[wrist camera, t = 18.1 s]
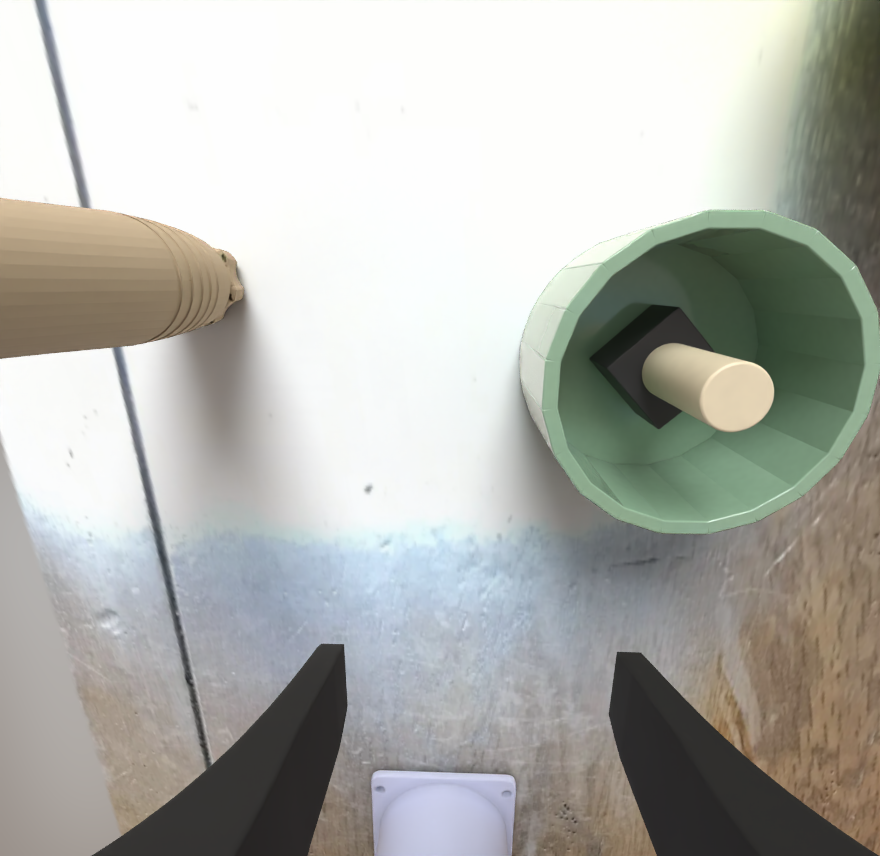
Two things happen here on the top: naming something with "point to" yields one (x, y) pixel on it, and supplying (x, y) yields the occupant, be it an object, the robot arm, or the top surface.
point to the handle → (103, 280)
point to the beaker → (728, 333)
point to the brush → (682, 374)
